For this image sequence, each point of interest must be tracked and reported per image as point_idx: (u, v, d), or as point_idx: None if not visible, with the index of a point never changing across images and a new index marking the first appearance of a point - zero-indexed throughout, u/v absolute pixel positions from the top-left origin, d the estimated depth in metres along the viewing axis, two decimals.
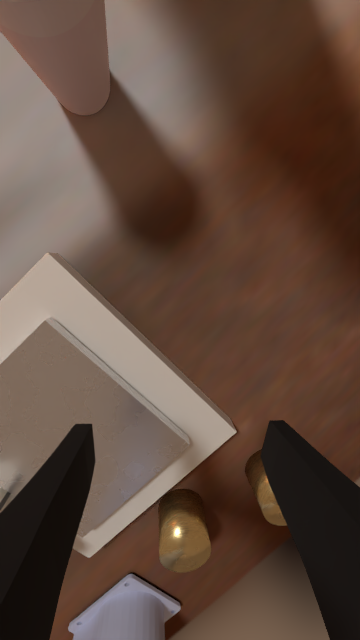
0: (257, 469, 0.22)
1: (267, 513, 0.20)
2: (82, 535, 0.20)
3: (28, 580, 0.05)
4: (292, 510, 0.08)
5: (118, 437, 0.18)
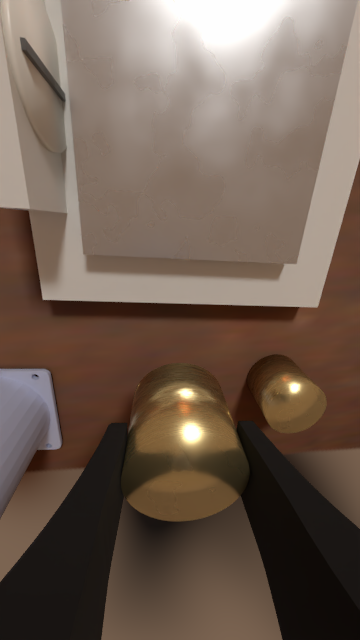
0: (282, 365, 0.19)
1: (275, 401, 0.17)
2: (86, 250, 0.13)
3: (93, 575, 0.05)
4: (255, 512, 0.08)
5: (257, 169, 0.12)
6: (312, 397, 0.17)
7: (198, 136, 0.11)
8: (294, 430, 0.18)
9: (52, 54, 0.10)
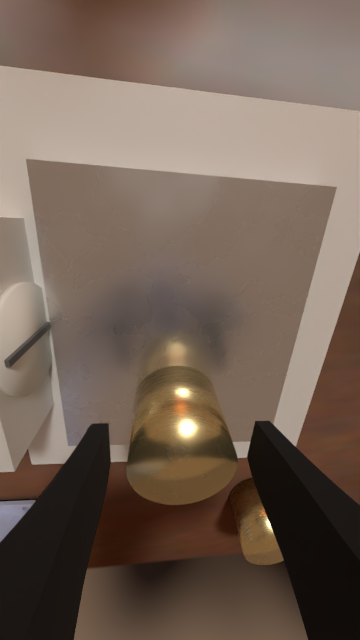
0: None
1: (252, 544, 0.18)
2: (70, 443, 0.14)
3: (58, 578, 0.05)
4: (275, 511, 0.08)
5: (229, 380, 0.13)
6: None
7: (173, 361, 0.12)
8: (271, 562, 0.19)
9: (37, 306, 0.11)
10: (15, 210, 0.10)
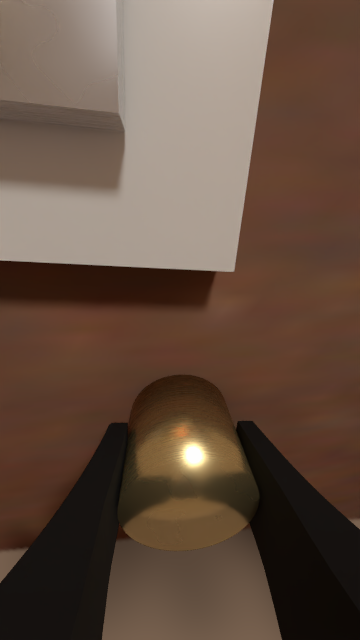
0: (178, 400, 0.09)
1: (134, 496, 0.07)
2: None
3: (93, 575, 0.05)
4: None
5: None
6: (223, 485, 0.07)
7: None
8: (195, 545, 0.08)
9: None
10: None
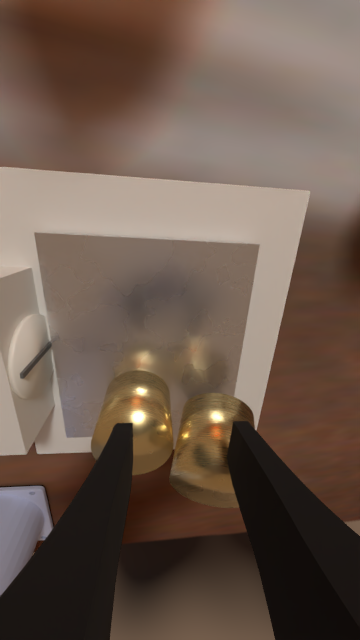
0: None
1: (200, 500, 0.13)
2: (68, 435, 0.17)
3: (103, 574, 0.05)
4: (249, 513, 0.08)
5: (191, 384, 0.17)
6: (189, 475, 0.12)
7: None
8: None
9: (42, 331, 0.15)
10: (25, 262, 0.14)
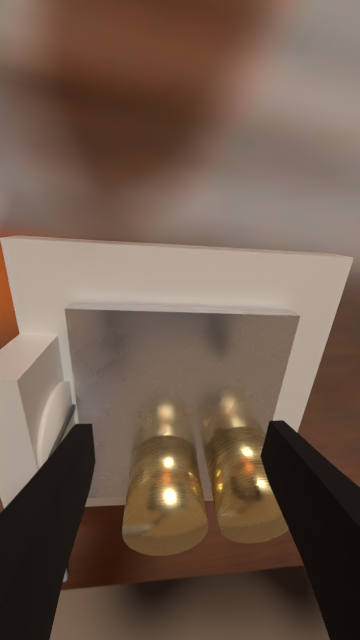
0: None
1: (245, 539, 0.13)
2: (90, 496, 0.17)
3: (28, 580, 0.05)
4: (292, 510, 0.08)
5: None
6: (240, 510, 0.12)
7: (174, 435, 0.15)
8: None
9: (66, 398, 0.14)
10: (51, 330, 0.13)
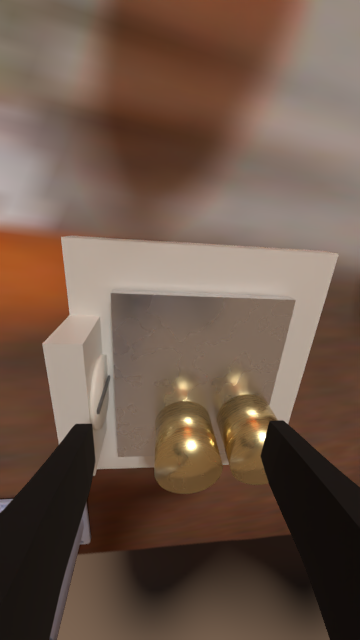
0: None
1: (251, 480, 0.16)
2: (119, 455, 0.20)
3: (28, 580, 0.05)
4: (292, 510, 0.08)
5: None
6: (247, 453, 0.15)
7: (191, 401, 0.18)
8: None
9: (105, 368, 0.17)
10: (95, 311, 0.16)
